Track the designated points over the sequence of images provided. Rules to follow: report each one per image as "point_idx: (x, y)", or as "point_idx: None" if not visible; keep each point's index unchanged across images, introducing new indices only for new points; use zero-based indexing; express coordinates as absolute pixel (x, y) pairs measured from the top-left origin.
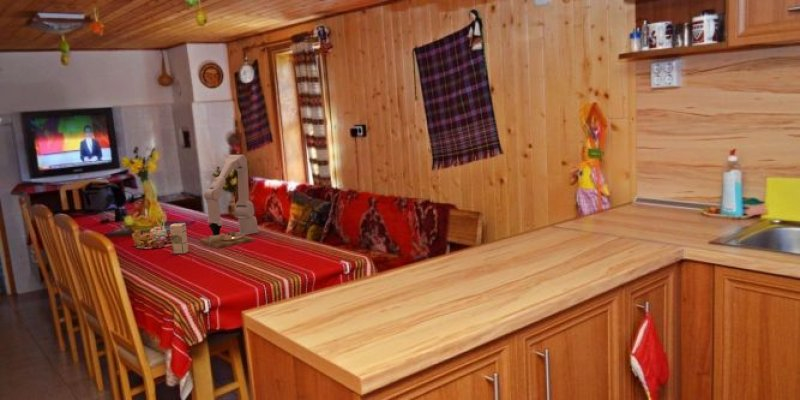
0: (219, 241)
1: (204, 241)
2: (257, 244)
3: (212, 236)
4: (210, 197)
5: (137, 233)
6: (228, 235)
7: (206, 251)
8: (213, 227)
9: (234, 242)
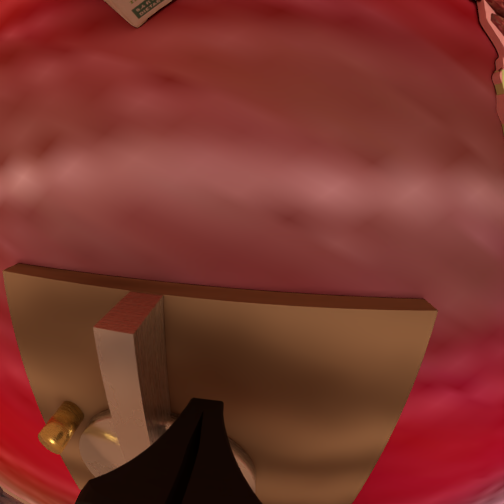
0: None
1: (317, 304)
2: (10, 433)
3: (101, 357)
4: None
5: None
6: (53, 440)
7: (4, 154)
8: (98, 483)
9: (38, 402)
